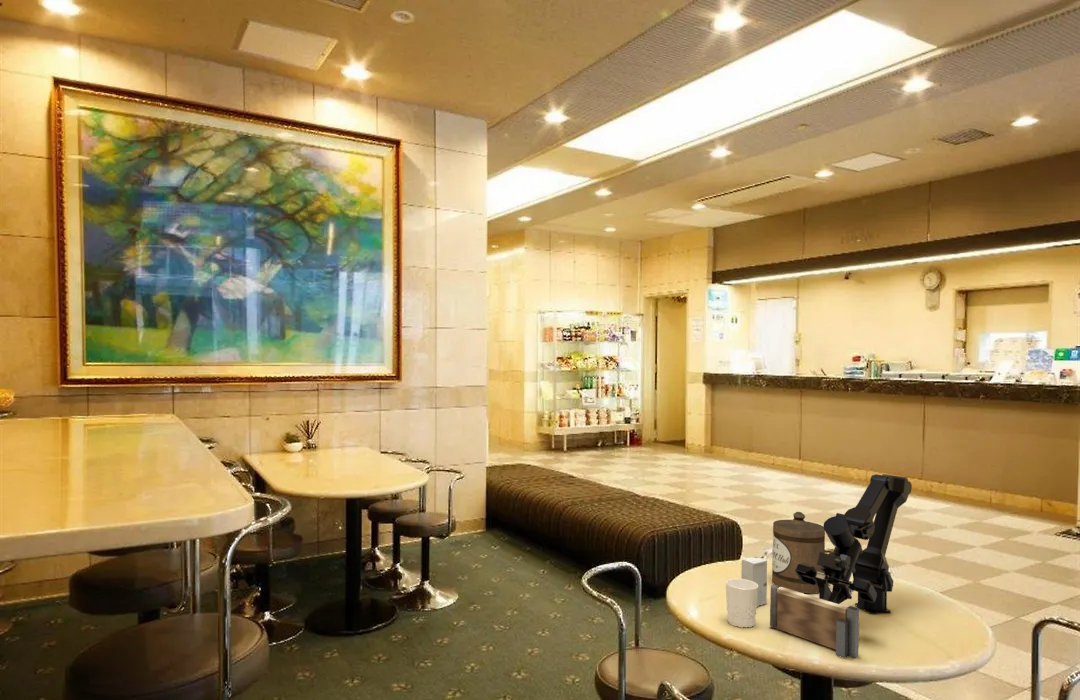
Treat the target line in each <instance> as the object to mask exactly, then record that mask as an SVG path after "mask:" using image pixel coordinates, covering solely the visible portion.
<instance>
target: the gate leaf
mask: <svg viewBox="0 0 1080 700" xmlns="http://www.w3.org/2000/svg"><path fill="white" fill-rule="evenodd" d="M769 602H770V605H769V606H770V607H769V626H770V627H771V628H774V629H775V628H776V629H777V630H779V631H783V632H785V633H789V634H791V635H794V636H797V637H800V638H803V639H805V640H808V641H810V642H814V643H817V644H820V645H823V646H824V647H827V648H830V649H833V650H836V625H837V620H838V619H842V620H845V621H847V607H848V606H846V605H842V604H836V603H833V602H830V601H826V600H823V599H820V598H819V597H816V596H812V595H811V594H803V593H800V592H797V591H794V590H790V589H787V588H784V587H780V588H779V586H777V585H774V584H771V585H770V601H769Z"/></svg>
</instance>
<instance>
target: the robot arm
mask: <svg viewBox="0 0 1080 700" xmlns="http://www.w3.org/2000/svg"><path fill="white" fill-rule="evenodd" d="M912 487H913V485H912V482H911V481H909V480H908V477H906V476H898V475H892V474H886V473H883V474H877V473H876V474H872V475H871V477H870V481H869V484H868V485H867V487H866V489H865V490H864V492H863V493H862V496H861V497H860V499H859V501H858V502H857V504H856V505H855V506H854V507H851V508H849V509H847V511H846V512H845V513H839V512H836V514H835V515H833V516H830V517H829V518H827V519H826V520H824V523H823V525H822V526H823V527H824V530H825V535H827V537H828V539H829V540H830V542H831V544H832V545H833V546H834V549H833V550H832V552H829V553H827V552H825V553H823V552H819V556H818V560H817V565H821V566H822V567H821V569H822V571H824V572H825V573H821V572H818V571H817V572H816V570H815V568H814V567H813V566H811V565H807V564H804V563H799V564H798V565H797V566H796V568H795V572H796V573H797V575H798V577H799V578H800V580H801V581H802V582H804V583H807V584H810V585H817V586H818V588H819V593H818V594H819V595H818V596H819V597H818V598H820V599H823V600H826V601H830V602H833V603H836V604H839V605H841V604H842V603H843V602H845V601H846V600H852V598H853V596H852V595H853V592H854V591H855V592H856V593H857V602H855V604H854V606H855V607H857V608H859V609H861V610H863V611H865V612H866V613H868V614H889V613H891V612H892V611H891V609H888V608H887V606H888V605H887V604H888V601H887V599H888V593H892V592H893V588H894V579H893V577H892V575H891V574H890V572H889V569H890V565H889V563H888V561H887V557H886V553H887V549H888V546H889V542H890V539H891V536H892V531H893V528H894V523H895V519H896V515H897V513H898V509H899V508H900V507H901V506H903V505H904V504H905V503H907V500H908V498H909V495H910V494H911V493H912V489H913V488H912ZM859 539H860V540H864V541H868V542H867V545H866V548H864V549H863V548H862V547H863V546H862V544H861V542H860V540H859ZM851 577H852V581H851ZM831 585H832V589H831V588H830V586H831Z"/></svg>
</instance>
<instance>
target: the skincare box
mask: <svg viewBox="0 0 1080 700" xmlns="http://www.w3.org/2000/svg"><path fill="white" fill-rule="evenodd" d="M740 573H741V578H740V579H746V580H750V581H753V582H755V583H756V584H758V596H757V607H760V606H759V605H761V606H764V605H763V604H765V605H767V601H768V598H767V597H768V596H767V595H768V593H767V592H768V591H767V589H768V588H767V587H768V586H767V585H768V560H766V559H764V558H762V557H757V556H753V557H747V558H742V559H741V572H740Z"/></svg>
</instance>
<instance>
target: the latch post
mask: <svg viewBox="0 0 1080 700" xmlns="http://www.w3.org/2000/svg"><path fill="white" fill-rule="evenodd" d="M846 607H847V621H845V620H842V619H838V620H837V625H836V649H835V656H836V655H837V656H836V657H839V656H841V657H840V658H842V657H843V659H846V658H847V656H848V657H849V656H850V657H849V658H851V657H853V658H852V659H854V658H855V659H857V658H858V657H859V644H860V643H859V642H860V641H859V640H860V636H859V635H860V633H859V632H860V608H859V607H857V606H852V605H849V606H846ZM845 657H846V658H845ZM856 657H857V658H856Z"/></svg>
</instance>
